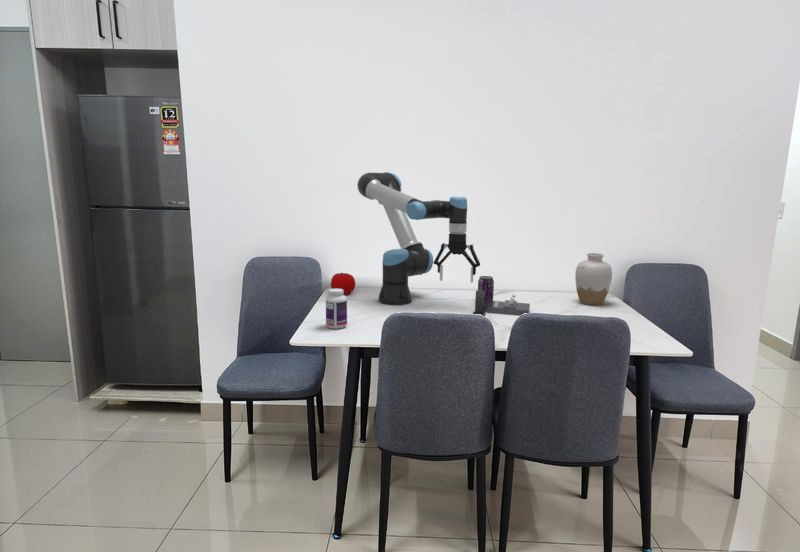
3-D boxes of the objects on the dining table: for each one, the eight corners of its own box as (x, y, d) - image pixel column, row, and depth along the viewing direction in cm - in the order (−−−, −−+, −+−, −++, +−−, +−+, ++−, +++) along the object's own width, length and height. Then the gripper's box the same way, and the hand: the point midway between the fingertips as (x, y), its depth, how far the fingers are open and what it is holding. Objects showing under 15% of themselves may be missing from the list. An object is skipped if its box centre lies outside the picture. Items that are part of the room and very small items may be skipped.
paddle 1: (510, 300, 231) (512, 295, 230) (510, 298, 234) (513, 294, 233) (512, 301, 231) (515, 296, 230) (513, 300, 233) (515, 295, 233)
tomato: (325, 293, 259) (325, 272, 257) (345, 289, 266) (345, 269, 264) (340, 297, 250) (340, 276, 248) (360, 294, 258) (360, 273, 256)
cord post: (472, 315, 223) (473, 292, 221) (473, 312, 228) (474, 289, 226) (484, 316, 221) (485, 293, 219) (486, 313, 226) (487, 290, 224)
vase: (577, 297, 258) (581, 250, 253) (612, 301, 250) (616, 253, 245) (569, 304, 244) (573, 254, 240) (605, 309, 236) (610, 258, 232)
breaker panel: (475, 311, 229) (476, 303, 228) (479, 305, 240) (479, 297, 239) (528, 316, 223) (528, 308, 222) (529, 309, 234) (529, 301, 234)
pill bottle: (347, 323, 208) (347, 287, 206) (346, 329, 201) (346, 292, 198) (327, 323, 208) (326, 287, 205) (324, 329, 200) (324, 292, 197)
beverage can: (492, 305, 240) (493, 279, 238) (476, 304, 242) (477, 278, 239) (493, 301, 247) (494, 276, 245) (477, 300, 248) (478, 275, 246)
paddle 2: (509, 303, 226) (512, 298, 225) (509, 301, 229) (512, 296, 228) (511, 304, 226) (514, 299, 225) (512, 302, 229) (515, 298, 228)
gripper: (427, 232, 230) (426, 281, 234) (485, 234, 224) (483, 284, 228) (431, 231, 237) (430, 277, 241) (487, 233, 231) (485, 281, 235)
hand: (456, 281), depth 235 cm, fingers open, 13 cm apart
